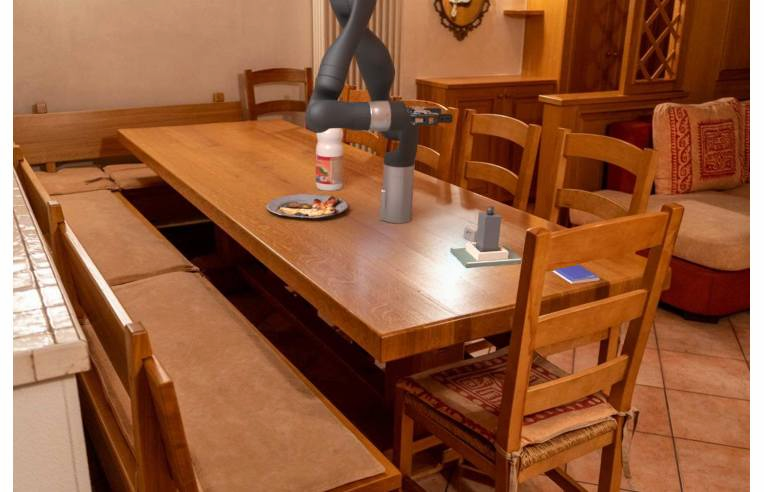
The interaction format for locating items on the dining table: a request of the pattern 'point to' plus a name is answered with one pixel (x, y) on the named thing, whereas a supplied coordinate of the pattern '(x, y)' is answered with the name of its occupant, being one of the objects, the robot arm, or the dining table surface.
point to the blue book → (576, 274)
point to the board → (485, 256)
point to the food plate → (308, 205)
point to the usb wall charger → (470, 233)
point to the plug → (488, 230)
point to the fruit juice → (329, 160)
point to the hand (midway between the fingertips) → (446, 115)
